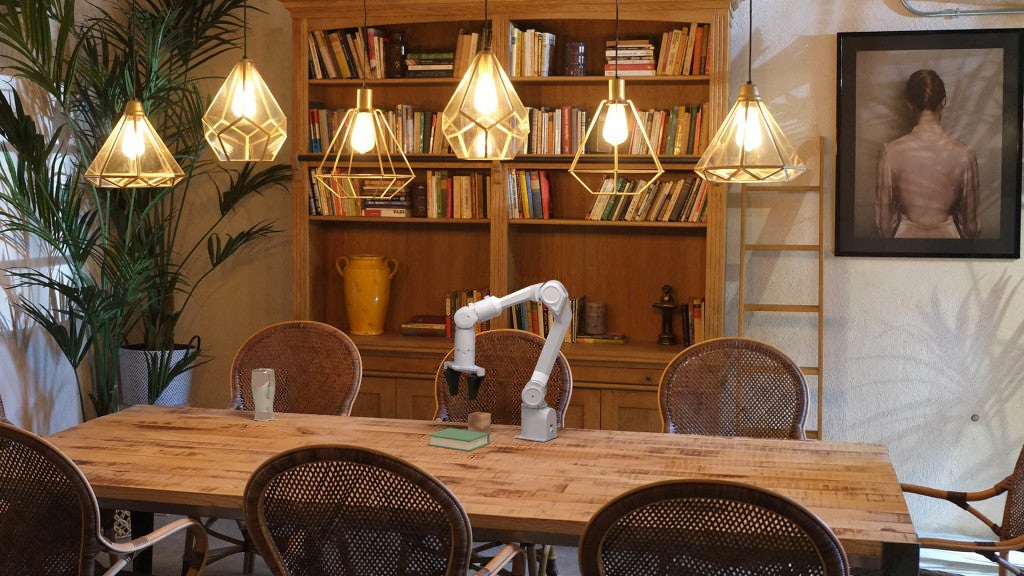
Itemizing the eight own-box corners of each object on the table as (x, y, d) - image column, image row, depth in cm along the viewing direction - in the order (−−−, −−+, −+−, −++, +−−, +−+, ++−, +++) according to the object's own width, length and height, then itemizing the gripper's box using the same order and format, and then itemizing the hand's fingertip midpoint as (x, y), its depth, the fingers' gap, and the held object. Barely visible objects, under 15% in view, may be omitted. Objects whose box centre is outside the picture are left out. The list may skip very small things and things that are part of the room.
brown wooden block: (490, 434, 297) (490, 413, 297) (481, 437, 293) (481, 416, 293) (476, 432, 300) (476, 411, 299) (468, 435, 296) (467, 414, 295)
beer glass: (263, 422, 312) (262, 372, 311) (247, 420, 316) (246, 370, 315) (280, 418, 318) (279, 369, 317) (264, 415, 322) (263, 367, 321)
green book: (489, 444, 285) (489, 433, 285) (469, 451, 277) (469, 440, 276) (450, 438, 292) (450, 427, 292) (429, 445, 283) (429, 434, 283)
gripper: (436, 347, 295) (435, 395, 296) (472, 354, 285) (470, 403, 286) (455, 345, 300) (453, 392, 301) (490, 352, 290) (488, 400, 291)
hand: (463, 397), depth 294 cm, fingers open, 7 cm apart
